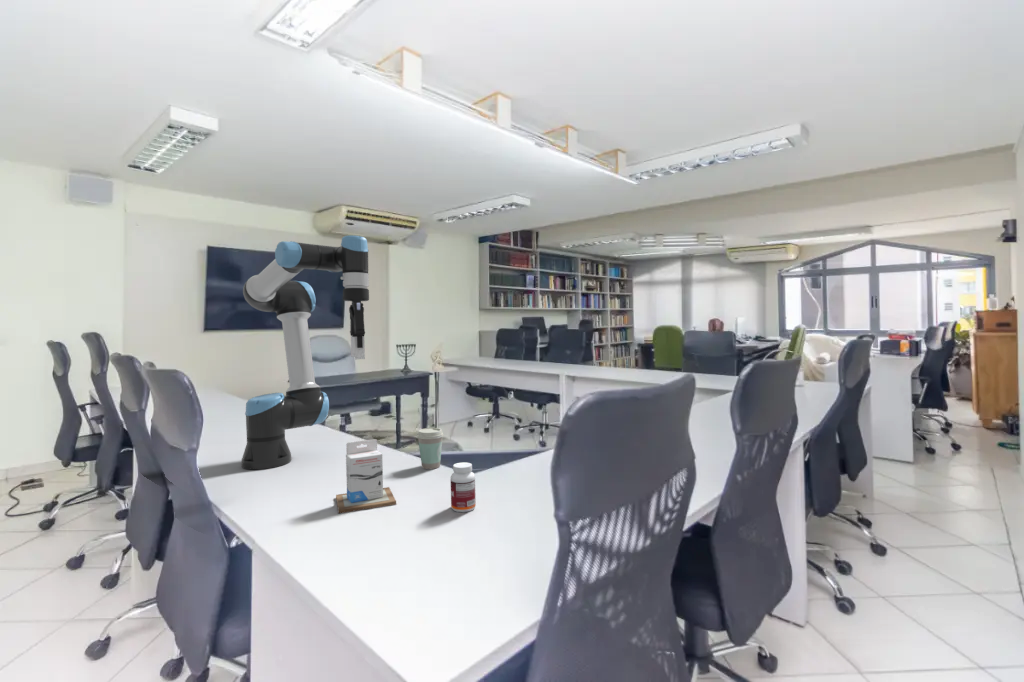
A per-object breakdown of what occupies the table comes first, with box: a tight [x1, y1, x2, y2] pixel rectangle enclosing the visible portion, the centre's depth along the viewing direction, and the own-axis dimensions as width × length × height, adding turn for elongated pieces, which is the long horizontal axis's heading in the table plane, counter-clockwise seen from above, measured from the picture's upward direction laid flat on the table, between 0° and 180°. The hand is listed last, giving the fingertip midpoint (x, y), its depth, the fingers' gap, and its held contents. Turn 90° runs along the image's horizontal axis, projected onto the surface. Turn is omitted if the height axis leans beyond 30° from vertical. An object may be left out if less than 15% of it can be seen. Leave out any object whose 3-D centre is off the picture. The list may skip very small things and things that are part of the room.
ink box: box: [345, 438, 384, 503], centre depth 126 cm, size 8×5×15 cm, turn 121°
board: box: [335, 486, 397, 514], centre depth 126 cm, size 12×14×1 cm
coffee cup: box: [416, 427, 444, 470], centre depth 156 cm, size 8×9×12 cm
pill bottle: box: [450, 462, 477, 513], centre depth 120 cm, size 6×6×11 cm
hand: (357, 358), depth 146 cm, fingers open, 13 cm apart
